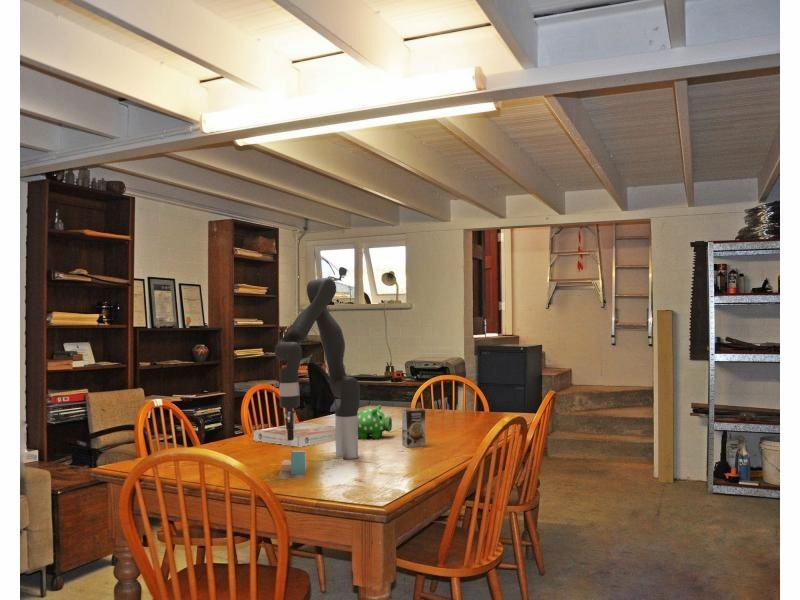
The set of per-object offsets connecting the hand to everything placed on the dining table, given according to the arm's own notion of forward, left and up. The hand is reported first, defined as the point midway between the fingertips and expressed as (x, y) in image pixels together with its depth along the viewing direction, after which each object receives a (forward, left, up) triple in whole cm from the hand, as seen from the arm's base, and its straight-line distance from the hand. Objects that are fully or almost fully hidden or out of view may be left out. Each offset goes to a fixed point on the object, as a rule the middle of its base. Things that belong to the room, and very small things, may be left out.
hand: (290, 439), depth 257 cm
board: (-1, +5, -11) cm, 13 cm away
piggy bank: (-33, -69, -12) cm, 77 cm away
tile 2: (-4, +11, -10) cm, 16 cm away
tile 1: (0, 0, -9) cm, 9 cm away
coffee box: (-51, -44, -12) cm, 68 cm away
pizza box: (+1, -69, -12) cm, 70 cm away
